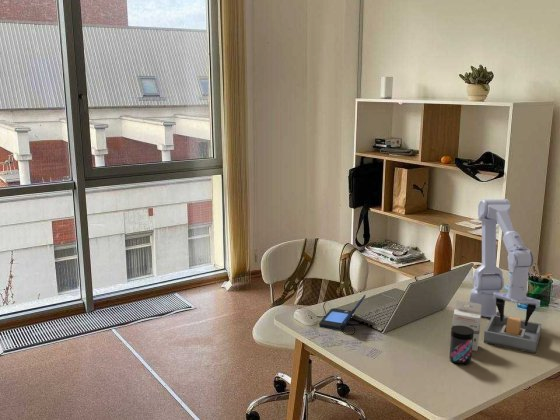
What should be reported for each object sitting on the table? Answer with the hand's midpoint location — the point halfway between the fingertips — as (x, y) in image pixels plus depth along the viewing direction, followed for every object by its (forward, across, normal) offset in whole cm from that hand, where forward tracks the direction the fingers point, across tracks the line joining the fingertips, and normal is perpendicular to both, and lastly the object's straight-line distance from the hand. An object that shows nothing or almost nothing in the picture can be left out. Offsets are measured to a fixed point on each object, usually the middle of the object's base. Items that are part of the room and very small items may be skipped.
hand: (513, 322), depth 191 cm
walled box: (+6, 0, 0) cm, 6 cm away
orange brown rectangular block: (+5, 0, 0) cm, 5 cm away
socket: (+6, 0, 0) cm, 6 cm away
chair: (+6, -5, +48) cm, 49 cm away
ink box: (+6, -13, -14) cm, 20 cm away
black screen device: (+6, -56, -16) cm, 59 cm away
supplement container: (+6, -12, -25) cm, 28 cm away
